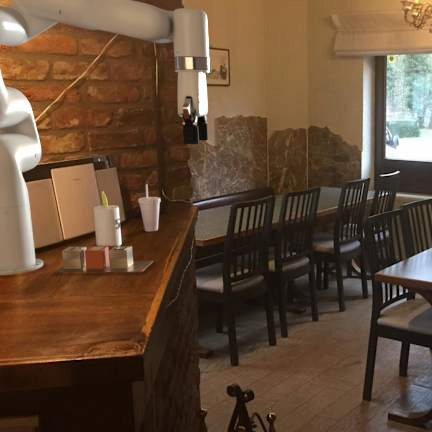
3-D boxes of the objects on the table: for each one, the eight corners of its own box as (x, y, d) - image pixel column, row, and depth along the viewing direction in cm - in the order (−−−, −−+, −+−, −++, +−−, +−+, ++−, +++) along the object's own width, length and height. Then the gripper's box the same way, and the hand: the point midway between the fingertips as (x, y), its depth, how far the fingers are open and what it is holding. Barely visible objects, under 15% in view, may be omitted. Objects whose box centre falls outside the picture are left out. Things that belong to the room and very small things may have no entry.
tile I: (63, 269, 147) (61, 250, 146) (70, 264, 151) (69, 246, 150) (81, 268, 147) (79, 250, 146) (87, 264, 151) (86, 246, 150)
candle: (113, 248, 168) (109, 193, 165) (91, 247, 169) (86, 192, 166) (126, 242, 174) (122, 189, 171) (105, 241, 175) (100, 188, 172)
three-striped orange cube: (86, 268, 147) (84, 250, 146) (92, 264, 151) (91, 246, 150) (103, 268, 148) (102, 250, 147) (109, 264, 152) (108, 245, 151)
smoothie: (140, 228, 192) (137, 183, 189) (162, 227, 194) (160, 182, 191) (139, 233, 186) (136, 186, 183) (162, 231, 188) (159, 185, 185)
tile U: (110, 268, 148) (109, 250, 147) (116, 263, 152) (115, 245, 151) (127, 268, 148) (126, 250, 147) (133, 263, 152) (132, 245, 151)
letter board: (55, 274, 145) (55, 272, 145) (72, 263, 153) (71, 261, 153) (142, 273, 146) (142, 271, 146) (153, 263, 155) (153, 260, 155)
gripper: (184, 67, 150) (188, 139, 153) (164, 64, 133) (169, 145, 136) (216, 67, 150) (220, 139, 154) (200, 65, 133) (204, 145, 137)
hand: (196, 142), depth 145 cm, fingers open, 9 cm apart
